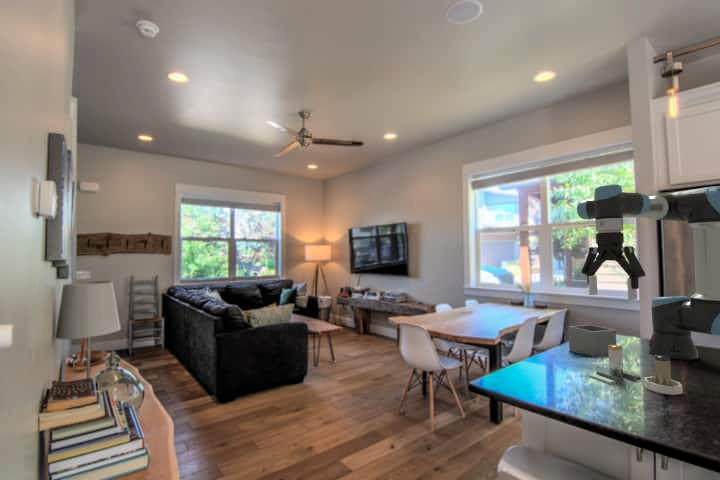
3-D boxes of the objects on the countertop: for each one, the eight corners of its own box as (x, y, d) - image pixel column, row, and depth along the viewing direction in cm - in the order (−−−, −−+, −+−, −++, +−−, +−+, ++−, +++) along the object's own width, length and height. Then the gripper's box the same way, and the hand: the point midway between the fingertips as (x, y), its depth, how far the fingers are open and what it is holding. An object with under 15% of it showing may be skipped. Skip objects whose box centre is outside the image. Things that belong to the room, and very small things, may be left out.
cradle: (618, 375, 121) (617, 366, 122) (649, 385, 112) (648, 375, 112) (585, 379, 118) (584, 370, 118) (614, 391, 108) (613, 380, 108)
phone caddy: (591, 347, 156) (590, 324, 156) (616, 355, 145) (615, 329, 145) (569, 350, 153) (568, 326, 153) (593, 357, 142) (592, 332, 142)
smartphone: (609, 352, 151) (609, 349, 151) (597, 359, 141) (597, 356, 141) (588, 348, 157) (588, 345, 157) (574, 355, 147) (574, 352, 147)
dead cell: (658, 388, 108) (656, 354, 109) (673, 391, 105) (671, 357, 106) (653, 390, 106) (651, 356, 107) (668, 394, 103) (666, 359, 104)
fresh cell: (606, 376, 116) (605, 345, 116) (614, 375, 117) (613, 344, 117) (617, 380, 112) (616, 348, 113) (626, 379, 114) (624, 347, 114)
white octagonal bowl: (658, 387, 110) (657, 375, 110) (689, 397, 102) (688, 384, 103) (638, 390, 108) (637, 378, 108) (667, 401, 100) (667, 388, 100)
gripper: (568, 234, 130) (570, 293, 129) (639, 229, 106) (642, 302, 105) (585, 234, 132) (587, 292, 131) (658, 229, 108) (661, 301, 107)
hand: (611, 297), depth 118 cm, fingers open, 13 cm apart
